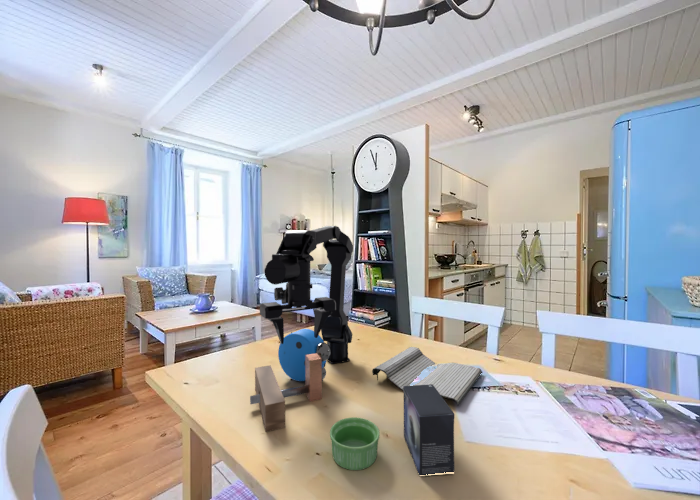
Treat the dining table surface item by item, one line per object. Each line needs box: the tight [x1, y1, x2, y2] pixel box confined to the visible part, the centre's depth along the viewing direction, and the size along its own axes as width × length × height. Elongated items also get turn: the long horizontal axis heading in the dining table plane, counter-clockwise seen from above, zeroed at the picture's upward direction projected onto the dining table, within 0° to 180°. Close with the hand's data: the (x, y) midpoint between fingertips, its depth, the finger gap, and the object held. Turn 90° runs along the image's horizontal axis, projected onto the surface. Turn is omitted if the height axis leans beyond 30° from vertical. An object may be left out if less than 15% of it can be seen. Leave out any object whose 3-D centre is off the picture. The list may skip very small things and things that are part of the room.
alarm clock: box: [277, 328, 330, 382], centre depth 85 cm, size 13×6×15 cm
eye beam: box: [254, 365, 286, 433], centre depth 71 cm, size 4×20×6 cm, turn 23°
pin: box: [249, 353, 323, 405], centre depth 73 cm, size 16×4×10 cm, turn 113°
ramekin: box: [329, 416, 380, 471], centre depth 55 cm, size 9×9×4 cm
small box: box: [402, 384, 456, 476], centre depth 55 cm, size 11×6×10 cm, turn 5°
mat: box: [371, 346, 483, 405], centre depth 86 cm, size 23×24×5 cm
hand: (299, 340), depth 77 cm, fingers open, 9 cm apart
